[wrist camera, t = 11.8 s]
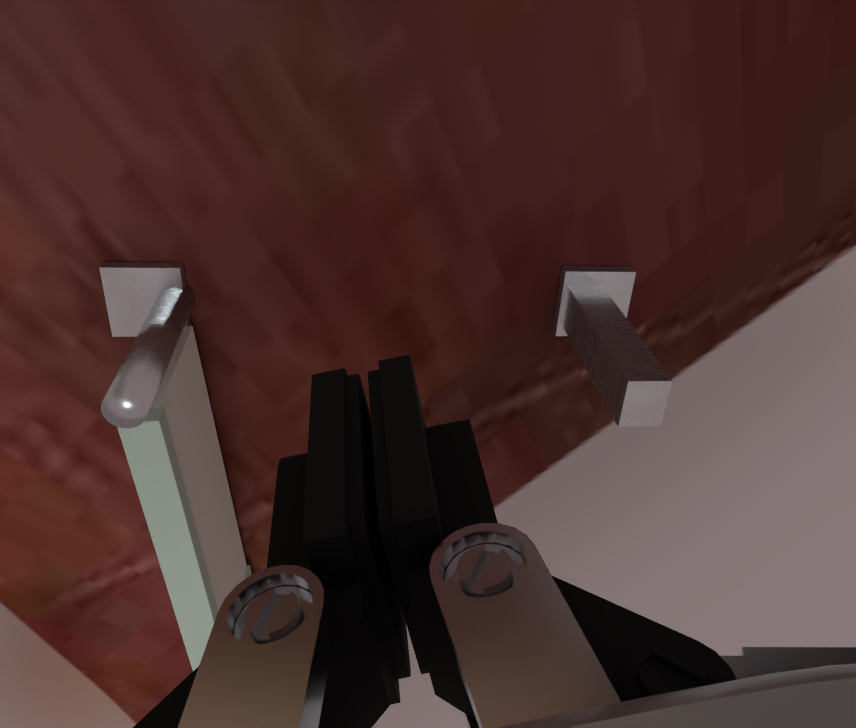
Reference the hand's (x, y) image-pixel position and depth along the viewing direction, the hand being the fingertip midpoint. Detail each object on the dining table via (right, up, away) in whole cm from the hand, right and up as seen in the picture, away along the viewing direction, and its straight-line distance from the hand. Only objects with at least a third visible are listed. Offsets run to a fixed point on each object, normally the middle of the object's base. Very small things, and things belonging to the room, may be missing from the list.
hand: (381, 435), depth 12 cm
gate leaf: (-12, -5, +32) cm, 34 cm away
